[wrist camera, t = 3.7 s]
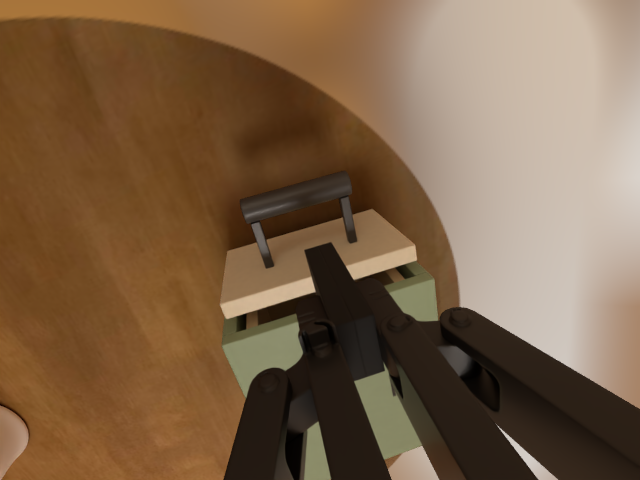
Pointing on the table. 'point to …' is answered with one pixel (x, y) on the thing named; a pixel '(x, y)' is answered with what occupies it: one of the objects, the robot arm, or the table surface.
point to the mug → (11, 438)
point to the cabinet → (375, 391)
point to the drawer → (288, 250)
